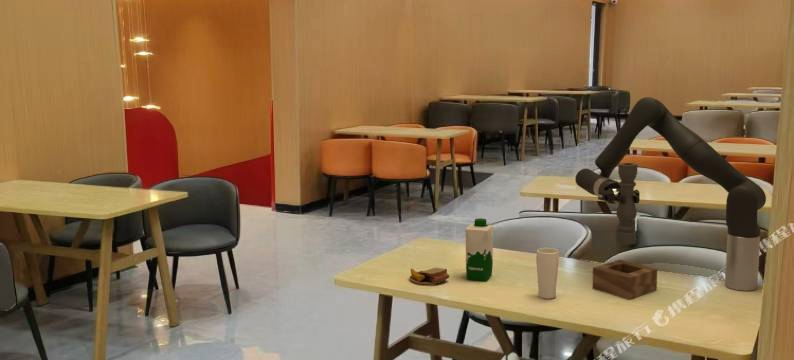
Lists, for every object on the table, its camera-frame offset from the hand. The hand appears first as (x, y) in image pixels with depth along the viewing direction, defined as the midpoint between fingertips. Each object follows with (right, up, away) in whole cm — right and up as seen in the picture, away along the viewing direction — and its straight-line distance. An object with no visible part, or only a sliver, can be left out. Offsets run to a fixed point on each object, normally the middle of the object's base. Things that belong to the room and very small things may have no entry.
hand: (630, 200), depth 215 cm
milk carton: (-44, -28, +23) cm, 57 cm away
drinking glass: (-25, -31, +3) cm, 40 cm away
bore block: (+1, -29, +8) cm, 30 cm away
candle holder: (0, -14, +5) cm, 14 cm away
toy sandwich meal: (-61, -28, +23) cm, 71 cm away
